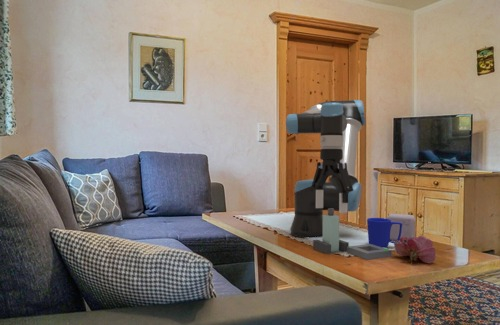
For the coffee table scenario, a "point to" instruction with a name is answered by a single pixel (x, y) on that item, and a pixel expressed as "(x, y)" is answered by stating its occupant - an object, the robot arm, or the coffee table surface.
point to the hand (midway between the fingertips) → (330, 210)
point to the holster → (329, 246)
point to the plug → (331, 229)
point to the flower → (416, 248)
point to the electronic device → (407, 226)
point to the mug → (381, 231)
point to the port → (369, 251)
